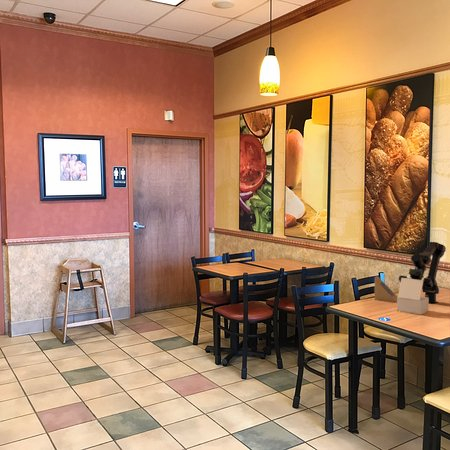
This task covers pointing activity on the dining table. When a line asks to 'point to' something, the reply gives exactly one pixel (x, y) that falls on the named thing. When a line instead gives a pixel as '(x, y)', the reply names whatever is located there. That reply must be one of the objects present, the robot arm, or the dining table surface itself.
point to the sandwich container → (383, 291)
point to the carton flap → (410, 289)
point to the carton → (413, 305)
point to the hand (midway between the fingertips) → (411, 292)
